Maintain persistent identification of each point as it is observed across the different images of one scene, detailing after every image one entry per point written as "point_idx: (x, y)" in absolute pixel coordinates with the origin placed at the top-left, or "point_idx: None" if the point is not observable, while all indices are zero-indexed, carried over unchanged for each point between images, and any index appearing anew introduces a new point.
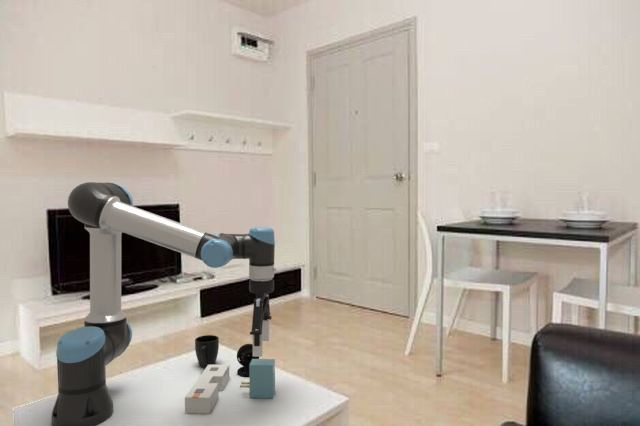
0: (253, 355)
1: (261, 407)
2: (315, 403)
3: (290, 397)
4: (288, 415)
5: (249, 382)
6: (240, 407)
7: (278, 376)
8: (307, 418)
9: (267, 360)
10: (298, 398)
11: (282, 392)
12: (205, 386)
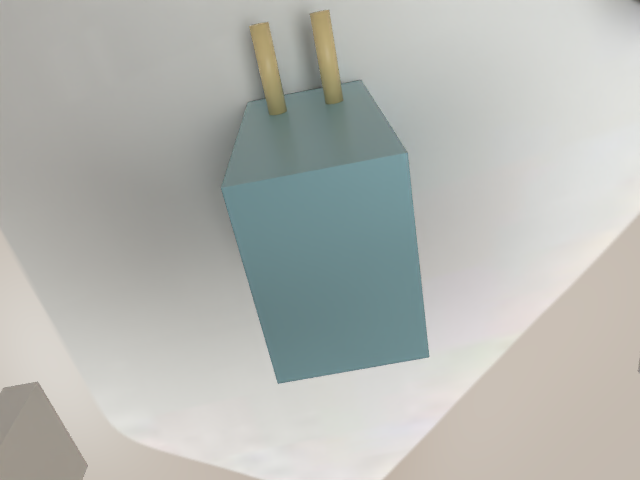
0: (5, 405)
1: (155, 215)
2: (280, 430)
3: None
4: (125, 361)
5: (328, 86)
6: (106, 90)
7: (607, 174)
8: (131, 433)
9: (382, 312)
10: None
11: None
12: None
